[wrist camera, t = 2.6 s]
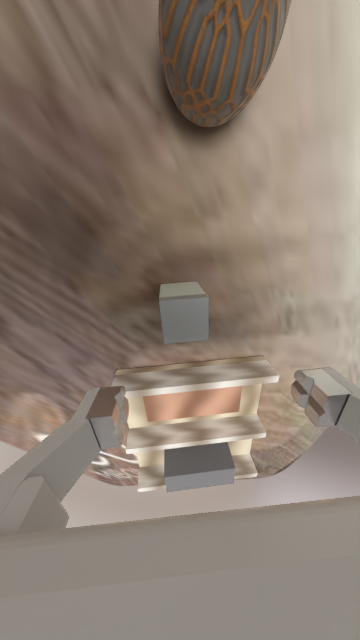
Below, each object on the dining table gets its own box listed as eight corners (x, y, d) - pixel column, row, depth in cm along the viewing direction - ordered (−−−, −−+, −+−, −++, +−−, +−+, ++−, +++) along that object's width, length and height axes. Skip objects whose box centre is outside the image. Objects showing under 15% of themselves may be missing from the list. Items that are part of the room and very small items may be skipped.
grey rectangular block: (164, 317, 21) (163, 344, 16) (160, 284, 19) (158, 301, 14) (197, 314, 21) (208, 340, 16) (196, 281, 20) (208, 297, 14)
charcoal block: (166, 454, 30) (166, 492, 26) (164, 440, 29) (164, 477, 24) (223, 447, 31) (233, 483, 26) (224, 432, 29) (235, 468, 25)
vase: (229, 157, 15) (300, 65, 7) (151, 124, 14) (134, -29, 6) (265, 39, 13) (433, -299, 5) (173, -14, 12) (192, -587, 4)
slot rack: (141, 464, 33) (138, 492, 29) (116, 369, 24) (108, 393, 20) (246, 450, 34) (256, 476, 30) (262, 355, 24) (279, 375, 21)
